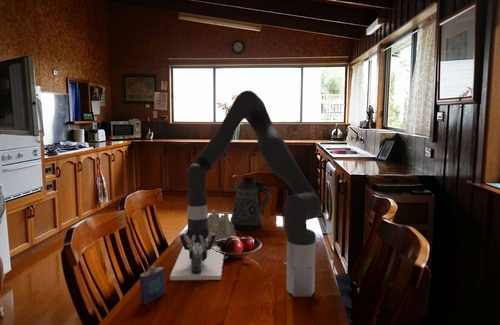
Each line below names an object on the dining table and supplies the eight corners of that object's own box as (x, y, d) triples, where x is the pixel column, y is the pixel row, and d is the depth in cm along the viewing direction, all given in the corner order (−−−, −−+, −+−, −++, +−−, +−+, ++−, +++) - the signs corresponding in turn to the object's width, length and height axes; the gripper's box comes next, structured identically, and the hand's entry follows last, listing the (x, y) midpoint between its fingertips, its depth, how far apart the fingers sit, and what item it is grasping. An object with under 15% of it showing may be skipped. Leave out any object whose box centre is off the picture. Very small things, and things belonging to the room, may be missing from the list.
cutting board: (220, 279, 139) (220, 275, 139) (170, 280, 139) (170, 276, 139) (224, 249, 169) (224, 246, 169) (182, 249, 169) (182, 246, 168)
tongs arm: (196, 269, 144) (196, 257, 143) (190, 269, 144) (190, 257, 143) (200, 248, 166) (199, 237, 165) (195, 248, 165) (195, 237, 165)
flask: (161, 291, 131) (160, 260, 129) (167, 293, 129) (166, 262, 127) (138, 302, 123) (137, 270, 122) (144, 305, 121) (143, 272, 120)
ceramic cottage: (238, 239, 182) (236, 207, 180) (203, 244, 177) (201, 211, 176) (230, 231, 197) (228, 202, 195) (197, 236, 192) (195, 205, 191)
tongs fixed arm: (202, 273, 140) (201, 260, 139) (190, 274, 140) (190, 260, 139) (208, 248, 166) (208, 236, 165) (198, 248, 166) (198, 237, 165)
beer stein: (225, 223, 207) (224, 177, 203) (257, 218, 216) (257, 174, 212) (239, 232, 192) (239, 182, 189) (273, 226, 201) (273, 178, 198)
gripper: (176, 219, 143) (178, 263, 146) (215, 218, 144) (216, 263, 146) (180, 213, 151) (181, 256, 153) (217, 213, 151) (217, 256, 153)
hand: (198, 259), depth 150 cm, fingers open, 4 cm apart
